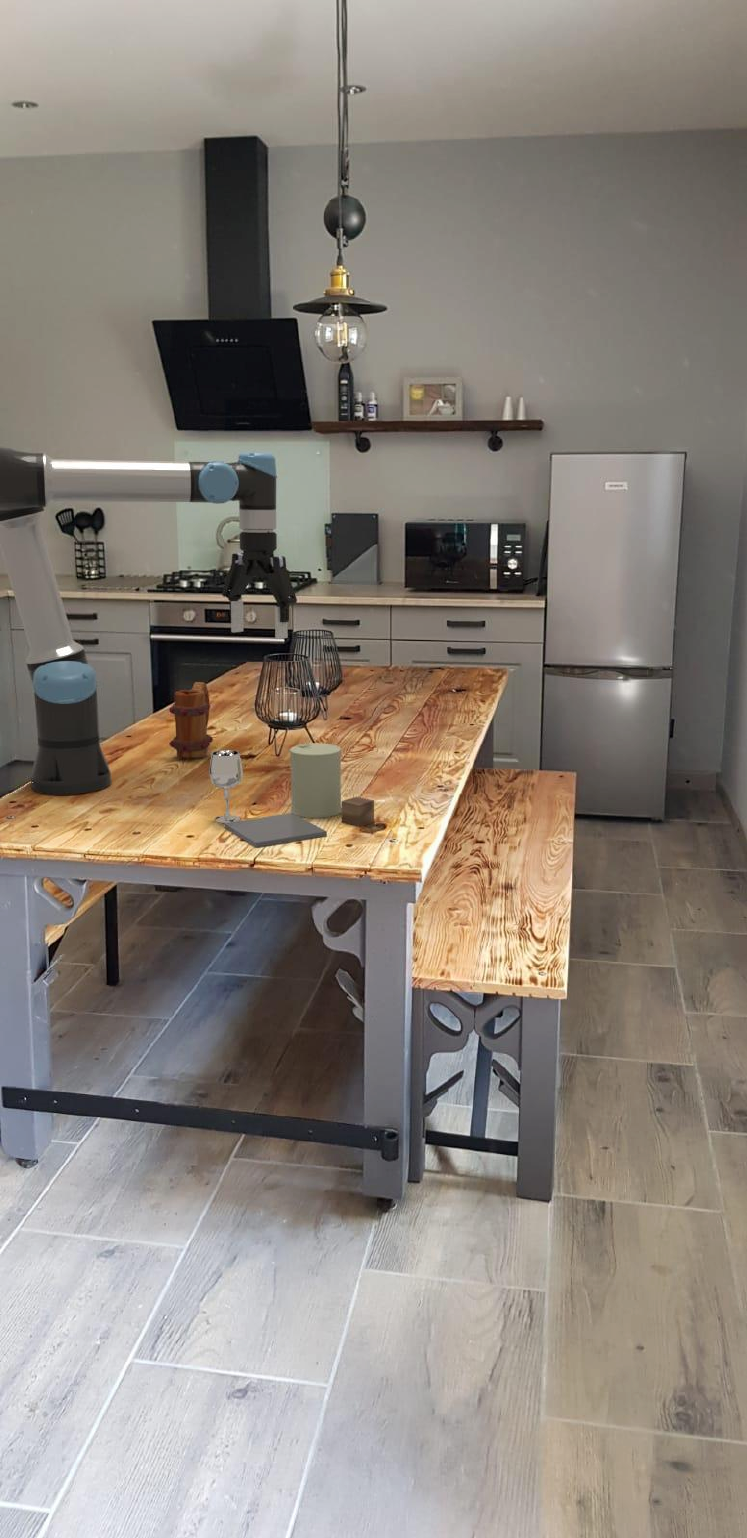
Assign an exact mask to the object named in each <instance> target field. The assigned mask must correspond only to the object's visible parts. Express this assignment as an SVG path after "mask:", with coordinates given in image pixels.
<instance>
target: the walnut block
mask: <svg viewBox="0 0 747 1538" xmlns="http://www.w3.org/2000/svg"><path fill="white" fill-rule="evenodd" d="M341 808H342V812H341V823H342V824H345V825H349V826H354V827H356V828H360V827H363V826H366V825H369V824H372V823H375V800H374V799H369V798H364V797H361V796H354V797H351V798H347V799H344V800H341Z"/></svg>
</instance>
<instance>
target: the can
mask: <svg viewBox="0 0 747 1538" xmlns="http://www.w3.org/2000/svg"><path fill="white" fill-rule="evenodd" d="M289 752H290V782H291V783H290V784H291V785H290V786H291V787H290V788H291V789H290V790H291V795H290V796H291V804H290V805H291V807H290V813H294V814H295V815H297V816H299V817H301V818H304V819H305V818H307V819H321V818H322V819H323V818H330V817H331V818H332V817H334V816H338V815H339V814H342V790H341V789H342V786H341V785H342V784H341V783H342V782H341V781H342V779H341V778H342V777H341V775H342V774H341V773H342V772H341V771H342V769H341V767H342V766H341V765H342V763H341V758H342V757H341V756H342V755H341V754H342V753H341V752H342V748H341V747H340V746H338V745H336V744H331V743H317V742H315V743H303V744H297V745H293V746H292V747H290V748H289Z"/></svg>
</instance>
